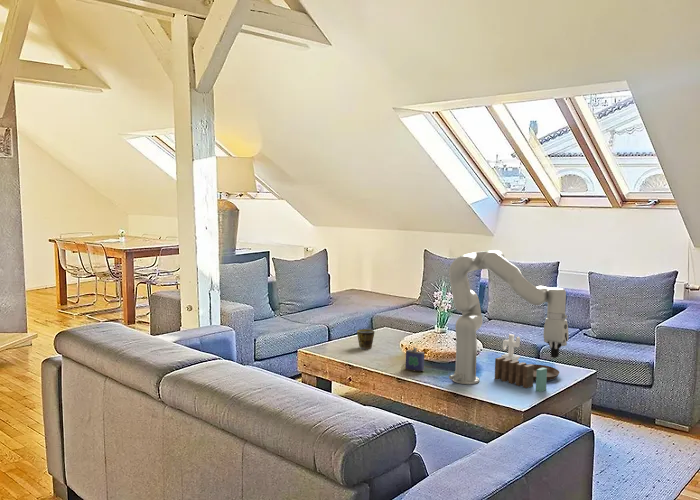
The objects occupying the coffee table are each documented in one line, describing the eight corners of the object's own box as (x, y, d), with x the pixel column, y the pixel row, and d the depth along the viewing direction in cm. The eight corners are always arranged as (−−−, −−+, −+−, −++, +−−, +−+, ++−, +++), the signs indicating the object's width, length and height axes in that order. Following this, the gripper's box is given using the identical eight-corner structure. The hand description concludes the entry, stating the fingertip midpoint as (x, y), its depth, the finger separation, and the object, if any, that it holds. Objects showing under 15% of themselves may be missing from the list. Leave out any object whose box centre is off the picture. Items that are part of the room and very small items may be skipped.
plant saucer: (548, 385, 293) (548, 378, 293) (507, 376, 307) (507, 370, 306) (566, 376, 309) (566, 369, 308) (526, 368, 322) (526, 361, 322)
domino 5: (532, 386, 291) (533, 365, 290) (526, 388, 288) (527, 366, 287) (529, 385, 293) (530, 364, 292) (522, 387, 290) (523, 365, 289)
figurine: (506, 359, 338) (507, 331, 336) (522, 363, 331) (523, 334, 329) (498, 361, 333) (499, 333, 331) (514, 365, 326) (515, 337, 324)
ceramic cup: (361, 345, 365) (361, 328, 364) (377, 347, 361) (377, 330, 360) (351, 350, 354) (351, 332, 353) (367, 352, 349) (367, 334, 348)
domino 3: (518, 382, 298) (519, 361, 297) (511, 383, 294) (512, 362, 293) (514, 381, 299) (515, 360, 298) (508, 382, 296) (509, 362, 295)
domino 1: (504, 378, 304) (505, 357, 303) (498, 379, 301) (498, 359, 300) (501, 377, 305) (501, 356, 304) (494, 378, 302) (495, 358, 301)
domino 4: (525, 384, 294) (526, 363, 294) (519, 386, 291) (519, 364, 290) (522, 383, 296) (522, 362, 295) (515, 385, 293) (516, 363, 292)
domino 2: (511, 380, 301) (512, 359, 300) (504, 381, 297) (505, 361, 297) (507, 379, 302) (508, 358, 301) (501, 380, 299) (502, 360, 298)
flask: (424, 371, 314) (425, 348, 313) (422, 372, 311) (422, 349, 310) (406, 368, 319) (407, 345, 318) (404, 369, 316) (404, 347, 315)
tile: (535, 390, 284) (536, 369, 283) (542, 388, 287) (543, 367, 287) (539, 392, 283) (540, 370, 282) (546, 390, 286) (547, 368, 285)
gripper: (576, 317, 274) (574, 359, 275) (546, 312, 285) (544, 352, 287) (566, 319, 269) (565, 362, 271) (536, 314, 281) (535, 355, 282)
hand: (554, 357), depth 279 cm, fingers closed
